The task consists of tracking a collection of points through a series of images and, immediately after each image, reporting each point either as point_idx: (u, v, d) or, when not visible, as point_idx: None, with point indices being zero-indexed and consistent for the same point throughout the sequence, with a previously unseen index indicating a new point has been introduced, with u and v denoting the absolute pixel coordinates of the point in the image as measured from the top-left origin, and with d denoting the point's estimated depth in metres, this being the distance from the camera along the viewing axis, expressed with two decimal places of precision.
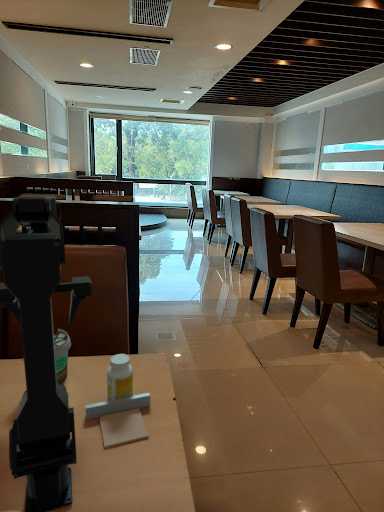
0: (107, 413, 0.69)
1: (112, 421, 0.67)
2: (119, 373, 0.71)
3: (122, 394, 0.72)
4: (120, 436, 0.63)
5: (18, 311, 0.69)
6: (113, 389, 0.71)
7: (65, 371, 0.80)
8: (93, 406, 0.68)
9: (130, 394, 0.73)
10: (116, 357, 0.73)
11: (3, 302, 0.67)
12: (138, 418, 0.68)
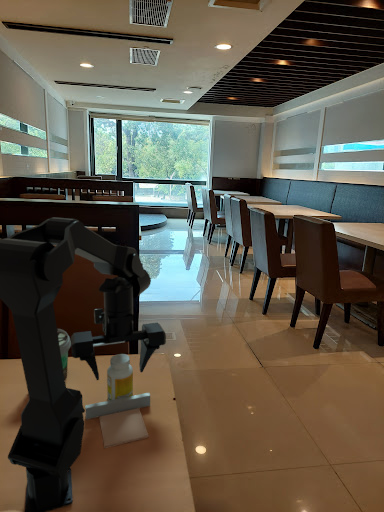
0: (107, 413, 0.69)
1: (112, 421, 0.67)
2: (119, 373, 0.71)
3: (122, 394, 0.72)
4: (120, 436, 0.63)
5: (95, 363, 0.68)
6: (113, 389, 0.71)
7: (65, 371, 0.80)
8: (93, 406, 0.68)
9: (130, 394, 0.73)
10: (116, 357, 0.73)
11: (82, 356, 0.66)
12: (138, 418, 0.68)
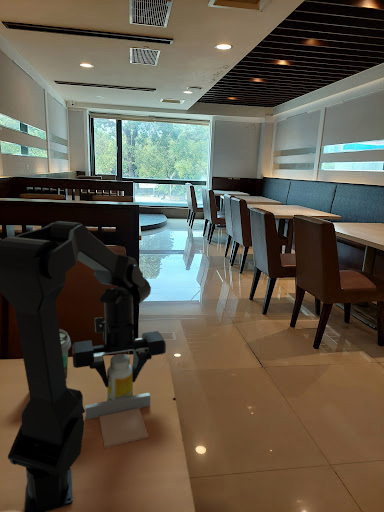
0: (107, 413, 0.69)
1: (112, 421, 0.67)
2: (119, 373, 0.71)
3: (122, 394, 0.72)
4: (120, 436, 0.63)
5: (104, 371, 0.69)
6: (113, 389, 0.71)
7: (65, 371, 0.80)
8: (93, 406, 0.68)
9: (130, 394, 0.73)
10: (116, 357, 0.73)
11: (82, 365, 0.66)
12: (138, 418, 0.68)
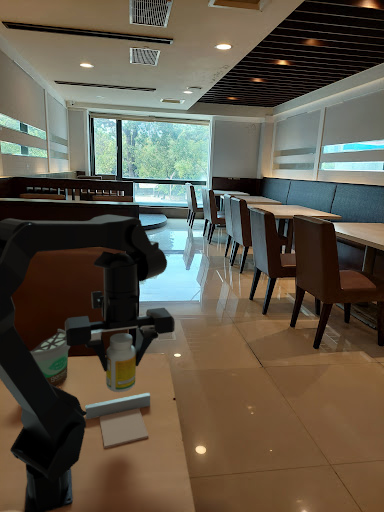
0: (107, 413, 0.69)
1: (112, 421, 0.67)
2: (121, 354, 0.60)
3: (123, 379, 0.61)
4: (120, 436, 0.63)
5: (103, 351, 0.59)
6: (113, 373, 0.61)
7: (65, 371, 0.80)
8: (93, 406, 0.68)
9: (133, 379, 0.63)
10: (116, 336, 0.62)
11: (78, 343, 0.56)
12: (138, 418, 0.68)
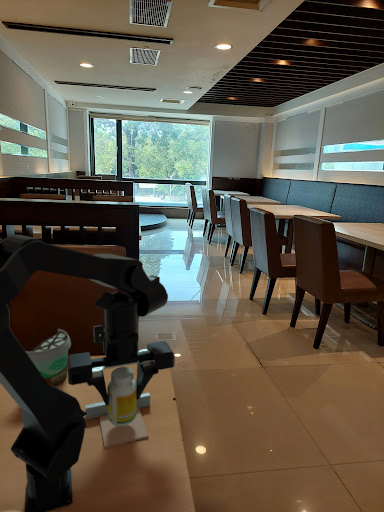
0: (107, 413, 0.69)
1: None
2: (122, 390, 0.62)
3: (124, 414, 0.62)
4: (120, 436, 0.63)
5: (104, 388, 0.60)
6: (114, 408, 0.62)
7: (65, 371, 0.80)
8: (93, 406, 0.68)
9: (134, 413, 0.64)
10: (118, 371, 0.64)
11: (79, 382, 0.57)
12: (138, 418, 0.68)
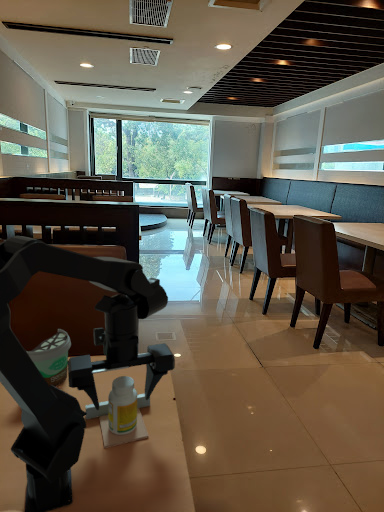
0: (107, 413, 0.69)
1: None
2: (123, 399, 0.62)
3: (125, 423, 0.63)
4: (120, 436, 0.63)
5: (94, 392, 0.60)
6: (115, 417, 0.63)
7: (65, 371, 0.80)
8: (93, 406, 0.68)
9: (134, 422, 0.65)
10: (119, 380, 0.64)
11: (80, 385, 0.57)
12: (138, 418, 0.68)
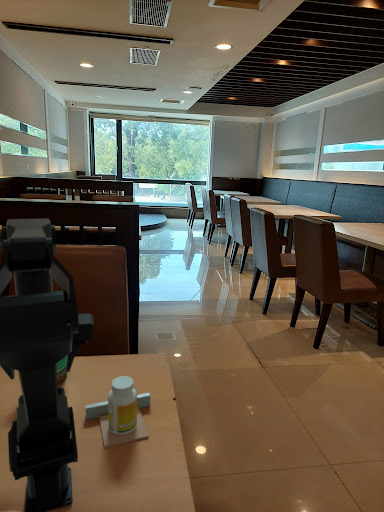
0: (107, 413, 0.69)
1: None
2: (122, 399, 0.62)
3: (125, 423, 0.63)
4: (120, 436, 0.63)
5: None
6: (115, 417, 0.63)
7: (65, 371, 0.80)
8: (93, 406, 0.68)
9: (134, 422, 0.65)
10: (118, 380, 0.64)
11: None
12: (138, 418, 0.68)
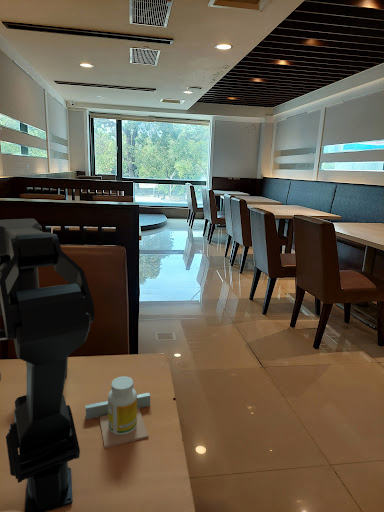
0: (107, 413, 0.69)
1: None
2: (122, 400, 0.62)
3: (124, 423, 0.63)
4: (120, 436, 0.63)
5: None
6: (115, 418, 0.63)
7: None
8: (93, 406, 0.68)
9: (134, 422, 0.65)
10: (118, 381, 0.64)
11: None
12: (138, 418, 0.68)
